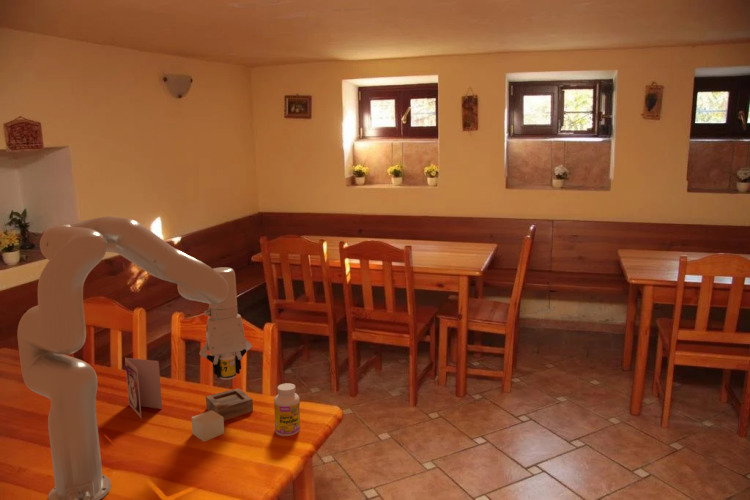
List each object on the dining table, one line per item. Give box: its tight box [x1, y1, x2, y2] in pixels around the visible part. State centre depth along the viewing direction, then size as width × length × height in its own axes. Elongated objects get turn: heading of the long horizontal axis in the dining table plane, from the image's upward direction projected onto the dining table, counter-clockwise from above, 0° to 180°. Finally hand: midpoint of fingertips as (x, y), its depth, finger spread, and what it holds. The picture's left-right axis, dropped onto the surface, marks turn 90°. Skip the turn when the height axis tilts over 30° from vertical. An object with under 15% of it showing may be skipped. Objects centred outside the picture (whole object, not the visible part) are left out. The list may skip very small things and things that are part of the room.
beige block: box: [191, 410, 225, 442], centre depth 157 cm, size 6×6×5 cm
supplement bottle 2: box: [273, 382, 301, 437], centre depth 157 cm, size 7×7×13 cm
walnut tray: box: [205, 387, 254, 422], centre depth 170 cm, size 10×10×5 cm
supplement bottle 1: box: [218, 352, 237, 381], centre depth 168 cm, size 5×5×8 cm
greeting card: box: [123, 357, 163, 419], centre depth 172 cm, size 11×7×15 cm, turn 39°
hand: (227, 373), depth 168 cm, fingers closed on supplement bottle 1, 4 cm apart
